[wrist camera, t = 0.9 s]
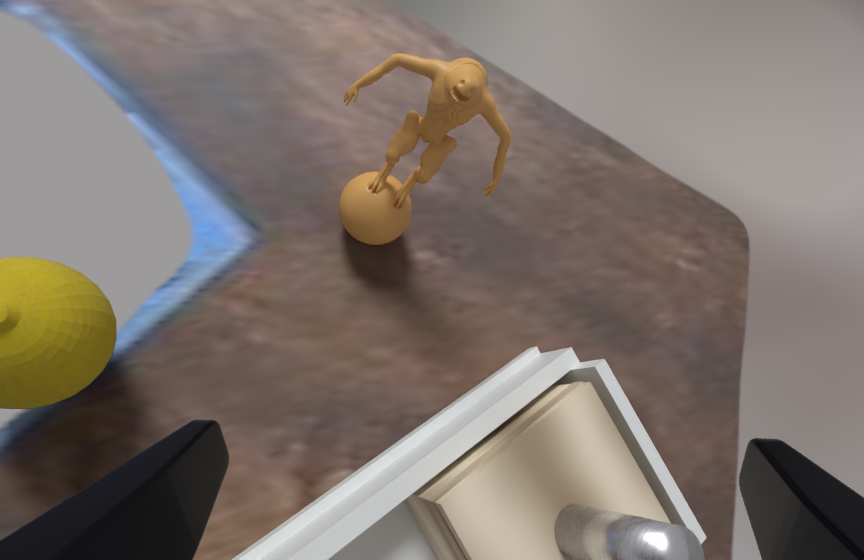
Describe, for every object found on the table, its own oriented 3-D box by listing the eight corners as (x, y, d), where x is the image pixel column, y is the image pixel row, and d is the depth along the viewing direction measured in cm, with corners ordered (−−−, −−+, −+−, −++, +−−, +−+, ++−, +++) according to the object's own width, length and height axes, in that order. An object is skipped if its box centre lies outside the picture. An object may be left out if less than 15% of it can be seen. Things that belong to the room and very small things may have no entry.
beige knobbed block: (497, 665, 26) (671, 807, 17) (399, 490, 27) (514, 529, 17) (619, 534, 31) (811, 586, 21) (534, 386, 31) (687, 370, 22)
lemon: (-37, 304, 22) (-148, 249, 15) (111, 273, 25) (75, 213, 18) (-8, 431, 22) (-108, 435, 15) (141, 386, 24) (117, 371, 17)
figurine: (284, 209, 29) (334, 84, 18) (335, 131, 31) (405, -20, 21) (411, 284, 31) (523, 211, 20) (449, 205, 33) (567, 103, 23)
